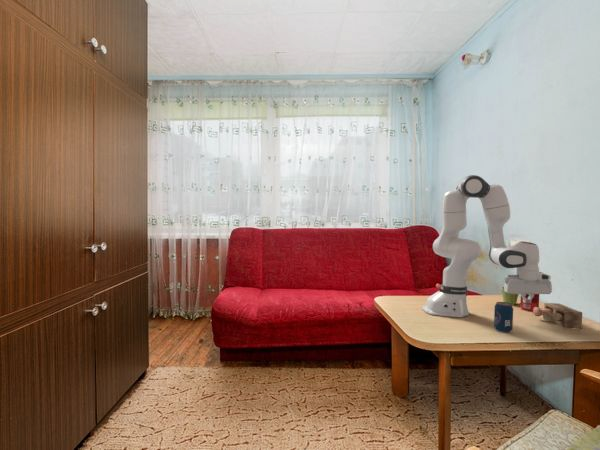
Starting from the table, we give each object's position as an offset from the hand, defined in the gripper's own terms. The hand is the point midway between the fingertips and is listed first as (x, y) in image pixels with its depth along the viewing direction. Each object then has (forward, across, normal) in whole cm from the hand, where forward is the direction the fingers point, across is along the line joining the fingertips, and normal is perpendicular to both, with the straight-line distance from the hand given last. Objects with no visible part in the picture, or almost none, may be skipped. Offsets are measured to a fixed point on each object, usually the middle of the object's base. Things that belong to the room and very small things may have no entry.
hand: (527, 302), depth 152 cm
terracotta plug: (+7, +9, 0) cm, 11 cm away
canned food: (+9, +11, +17) cm, 22 cm away
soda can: (+8, -20, -17) cm, 27 cm away
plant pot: (+10, +7, +28) cm, 30 cm away
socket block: (+9, +14, -3) cm, 17 cm away
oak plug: (+7, +9, -7) cm, 13 cm away
